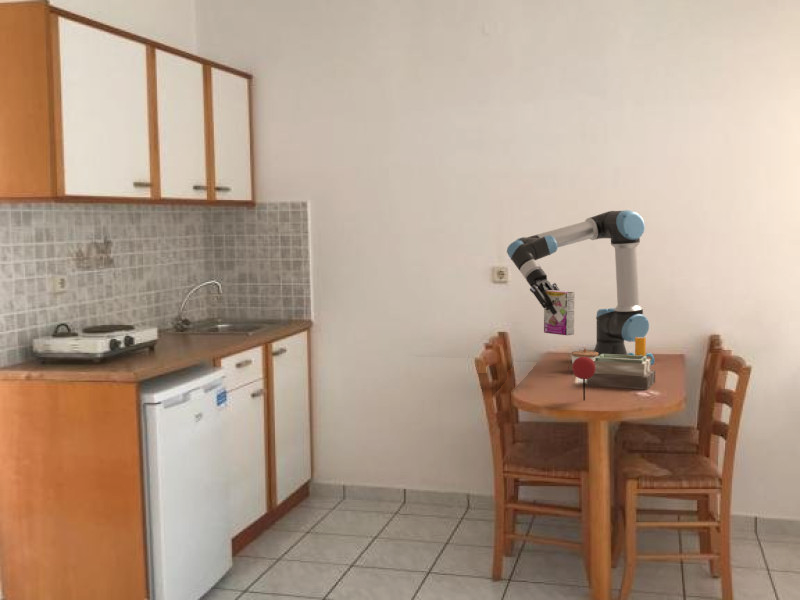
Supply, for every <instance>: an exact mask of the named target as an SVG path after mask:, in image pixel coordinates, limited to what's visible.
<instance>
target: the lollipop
mask: <svg viewBox="0 0 800 600" xmlns="http://www.w3.org/2000/svg"><path fill="white" fill-rule="evenodd" d="M572 373H573V375H574V376H575V377H577V378H578V379H580V380H583V381H582V383H583V384H582V386H583V388H582V390H583V391H582V393H583V401H586V382H585V381H586V380H587V379H588V378H591V377H592V376H593V375H594V373H595V363H594V361H593V360H592V359H591V358H588V357H579V358H577V359H576V360H575V361H574V363H572Z"/></svg>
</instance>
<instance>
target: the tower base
mask: <svg viewBox="0 0 800 600" xmlns="http://www.w3.org/2000/svg"><path fill="white" fill-rule="evenodd" d="M651 359H652V358H648V357H647V356H638V355H618V354H601V355H599V356H598V357H596V358H595V360H593V361H594V363H595V373H594V375H593V376H592V377H591V378H588V379H586V386H587V387H589V386H590V387H603V388H618V389H620V388H621V389H632V390H633V389H634V390H646V391H647V390H648V389H649V388H650V387H652V386H653V385H654V384H655V383H656V370H655V369H652V368H651V367H652V365H651Z"/></svg>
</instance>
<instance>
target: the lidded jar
mask: <svg viewBox="0 0 800 600" xmlns="http://www.w3.org/2000/svg"><path fill="white" fill-rule="evenodd" d="M598 355H599V353H598V352H594V350H587V348H583V350H578V351H577V350H575V351H572V352H571V362H572V364H573V363H574V361H575V360H576V359H577V358H579V357H588V358H591V359H592V360H595V358H596V357H598Z"/></svg>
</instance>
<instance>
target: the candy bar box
mask: <svg viewBox="0 0 800 600" xmlns="http://www.w3.org/2000/svg"><path fill="white" fill-rule="evenodd" d="M545 292H546V293H547V295H548V296H549V298H550V299H551V302H552V304H553V305H556V307H557V308H558V310H559V311H560V312H561V314H562V315H563V316H564V319H563V320H562V321H561V322H558V320H557V319H556V317H555V316H554V315H553V314H552V312H551V311H550V310H546V308H543V310H544V311H543V333H544V334H553V335H558V336H560V335H561V336H571V335H575V292H574V291H569V290H567V291H566V290H560V291H558V290H547V291H545ZM544 304H545V303H544ZM553 305H552V306H553Z"/></svg>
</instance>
